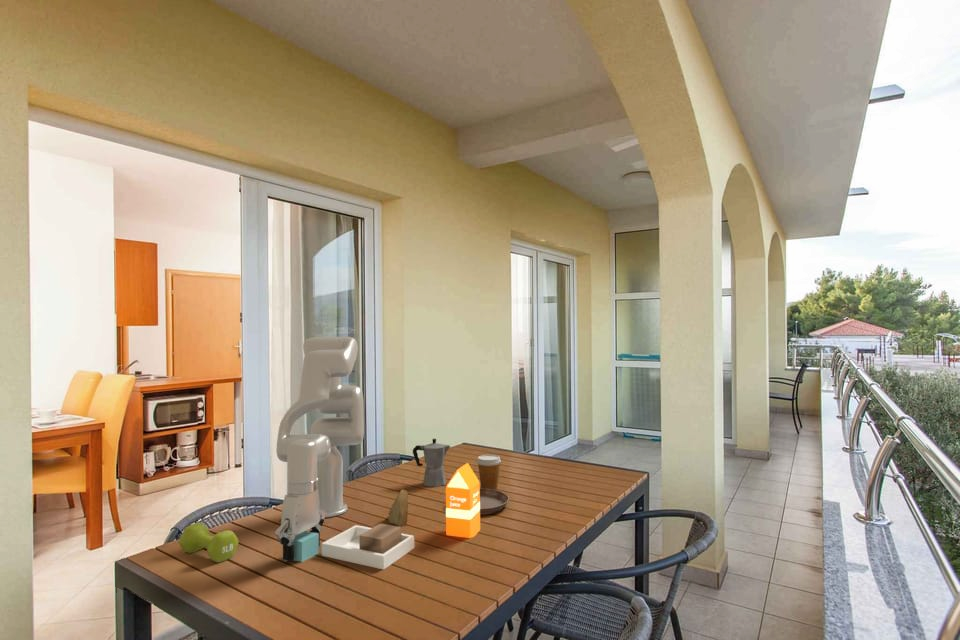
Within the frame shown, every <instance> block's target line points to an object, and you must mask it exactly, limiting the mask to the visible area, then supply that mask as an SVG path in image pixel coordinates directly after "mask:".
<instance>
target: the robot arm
mask: <svg viewBox="0 0 960 640" xmlns="http://www.w3.org/2000/svg"><path fill="white" fill-rule="evenodd" d="M358 348H359V346H358V342H357V340H356V339H355V338H354V337H352V336H313V337H308V338H307V339H305V340H304V342H303V344H302V349H303V350H302V351H303V353H304V357H303V363H302V368H301V369H302V370H301V371H302V372H301V376H300V377H301V379H300V386H299V387H300V388H299V396H298V399H297V400H296V401H295V402H294V403H293V404H292V405H291V406H290V408H289V409H287V410H286V412H285V413H284V415H283V417H282V419H281V421H280V423H279V427H278V431H277V433H278V434H277V441H276V448H275V449H276V452H275V453H276V457H277V458H278V460H279V461H281V462H283V463H287V464H286V465H287V468H286V469H287V470H286V471H287V473H286V474H287V475H286V478H287V480H286V494H285V495H284V498H283V501H282V507H281V517H280V526H279V527H278V528H277V529H276V530H275V532H274V535H275V537H276V539H277V541H278V542H279V543H280V545H282V559H283V560H284V561H285V560H287V561H286V562H292V561H295V560H294V545H292V543H293V540H294V538H295V536H296V535H298V534H300V533H302V532H304V531H309V532H313V533H318V534H319V547H320V546H321V545H320V544H321V539H320V538H321V534H320V533H321V531H322V530H323V528H322V526H323V525H324V523H325V518H332V517H335V516H340V515H342V514H344V513H346V512H347V510H348V504H346V503H345V502H344V501H343V497H344V495H343V494H344V493H343V491H344V489H343V488H344V487H343V485H344V482H343V481H344V480H343V479H344V477H343V475H344V474H343V472H344V471H343V470H344V469H343V468H344V467H343V466H344V465H343V464H344V462H343V461H344V459H343V456H342V454H341V452H340V450H339V449H338V448H337V447H338V446H356V445H360V444H361V443H362V442H363V440H364V436H365V415H364V412H365V409H364V407H365V406H364V405H365V404H364V401H365V400H364V393H363V390H362V388H361V387H359V386H357V385H350V384H349V385H342V381H341V380H342V378H343V377H348V376H349V375H351V373H352V371H353V369H354V366H355V362H356V359H357V358H358V351H359V349H358ZM315 410H316V411H317V412H318V413H319V414H323V415H324V414H325V415H340V414H342V415H343V414H345V415H346V414H347V415H348V416H342V417H341V416H338V417H337V416H335V417H330V416H329V417H321V418H320V417H319V418H317V419H316V420H315V421H313V423H312V425H311V427H310V434H309V433H307V434H304V433H301V434H298V433H297V434H291V431H292V429H293V426H294V424H295V423H296V422H297V420H299V419H300V418H301V417H303V416H304V415H306V414H308V413H310V412H311V411H315ZM289 536H290V538H289V540H288V539H287V538H288V537H289Z"/></svg>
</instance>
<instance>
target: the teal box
mask: <svg viewBox="0 0 960 640" xmlns="http://www.w3.org/2000/svg"><path fill="white" fill-rule="evenodd" d="M290 536H291V535H289V536H288V538H287V539H288V540H289V538H290ZM292 545H294V560H293V561H295V562H300V563H303V562H305V561H307V560H309V559H310V558H312V557H314V556H316V555H318V554H319V550H320V549H319V548H320V546H319V534H318V533H313V532H310V531H309V530H306V531H304V532H302V533H300V534H298V535H296V536H295V538H294V540H293V543H292ZM284 562H288V561H287V560H284Z"/></svg>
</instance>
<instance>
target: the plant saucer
mask: <svg viewBox="0 0 960 640" xmlns="http://www.w3.org/2000/svg"><path fill="white" fill-rule="evenodd" d="M509 501H510V497H509V496H508V494H507V493H505V492H503V491H499V490H498V489H496V490H491V489H481V488H480V516H481V515H490V514H494V513H497V512H499V511H501V510H502V509H503V508H504V507H506V505H507V503H508V502H509Z"/></svg>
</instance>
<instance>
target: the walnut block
mask: <svg viewBox="0 0 960 640" xmlns="http://www.w3.org/2000/svg"><path fill="white" fill-rule="evenodd" d="M370 528H371V529H370V530H368V531H366V532H364V533H363V534H361V535H360V549H361V550H366V551H371V552H376V553H380V554H384V553H385V552H387V551H388V550H390V549H391V548H393V547H394V546H396V545H397V544H399V543H400V542H401V533H402V527H398V525H390V524H385V523H379V524H377V525H376V526H373V527H370Z"/></svg>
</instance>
